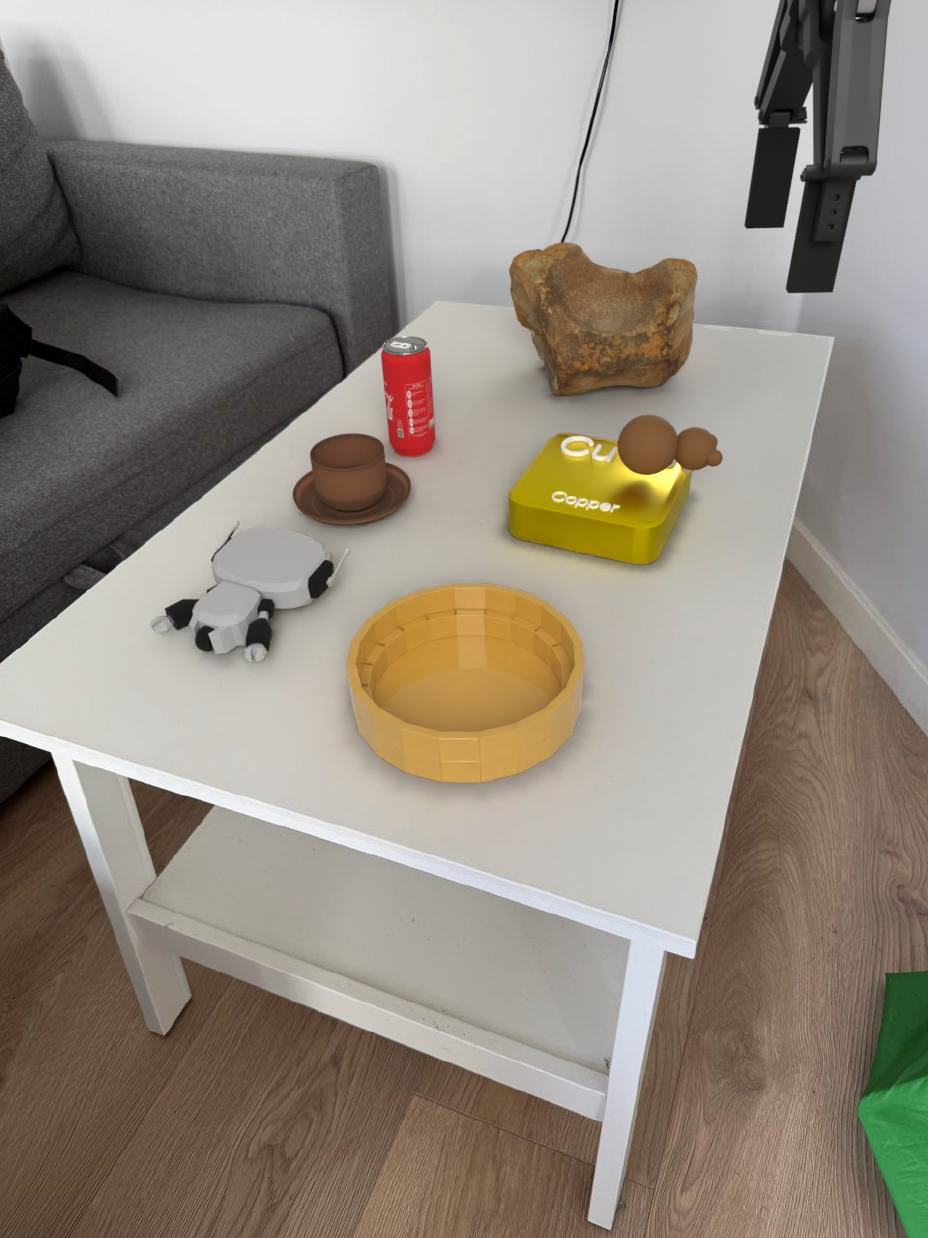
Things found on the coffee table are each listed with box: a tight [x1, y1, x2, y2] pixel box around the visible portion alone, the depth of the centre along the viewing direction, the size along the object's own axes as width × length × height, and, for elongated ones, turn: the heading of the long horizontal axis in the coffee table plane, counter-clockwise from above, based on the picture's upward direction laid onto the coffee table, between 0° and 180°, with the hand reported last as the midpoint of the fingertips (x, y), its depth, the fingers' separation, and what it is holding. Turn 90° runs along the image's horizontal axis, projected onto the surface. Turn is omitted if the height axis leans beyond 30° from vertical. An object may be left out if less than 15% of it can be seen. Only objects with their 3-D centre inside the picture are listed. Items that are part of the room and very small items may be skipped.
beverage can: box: [380, 335, 436, 458], centre depth 99 cm, size 5×5×12 cm
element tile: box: [507, 432, 693, 565], centre depth 89 cm, size 15×15×5 cm
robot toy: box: [150, 520, 351, 663], centre depth 79 cm, size 12×4×15 cm
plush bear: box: [617, 414, 724, 475], centre depth 86 cm, size 6×6×10 cm
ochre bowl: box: [345, 582, 585, 784], centre depth 69 cm, size 17×17×5 cm
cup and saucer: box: [292, 432, 412, 526], centre depth 92 cm, size 12×12×6 cm
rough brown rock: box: [508, 241, 698, 397], centre depth 110 cm, size 23×17×15 cm
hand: (784, 256), depth 62 cm, fingers open, 13 cm apart
